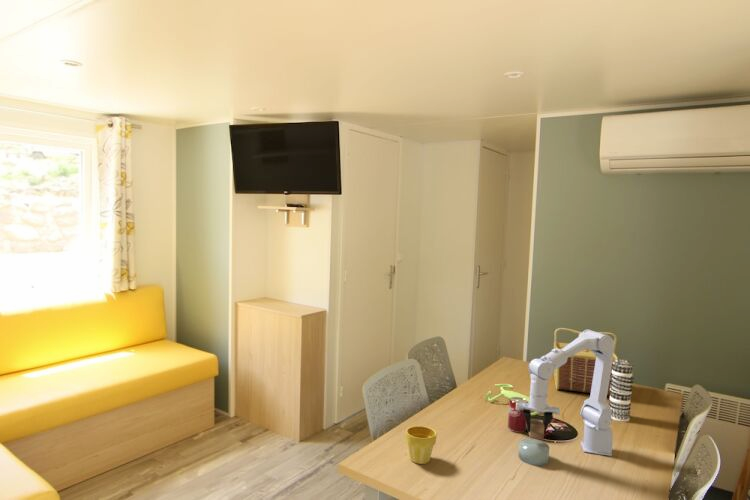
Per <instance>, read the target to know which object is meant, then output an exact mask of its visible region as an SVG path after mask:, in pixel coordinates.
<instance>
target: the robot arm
mask: <svg viewBox="0 0 750 500" xmlns="http://www.w3.org/2000/svg"><path fill="white" fill-rule="evenodd" d="M580 332H581V333H580V334H578V337H576V338H575V339H574V340H572V341H571V342H569V343H570V344H568V345H567V346H565V347H564V348H563V349H561V350H560V349H554V348H552V349H551V351H549V352H548V353H547V354H545V355H542V356H540V358H534V359H532V360H531V361H530V362H529V365H528V366H527V370H528V372H529V373H530V374H529V376H530V387H529V388H530V389H529V397H530V402H529V403H516V410H523V414H524V416H525V419H526V423H527V430H526V431H527V433H528V432H530V420H531V419H532V415H531V413H532V412H538V413H542V414H543V418H542V420H543V423H544V435H545V434H546V432H547V429H548V426H549V424H550V423H551V421H552V420H553V419H554V415H556V416H557V415H558V416H560V415H561V409H560V407H556V406H554V405H553V406H552V405H547V404H548V391H549V390H548V389H549V379H550V378H551V377H552V376H553V375H554V374H553V373H554V371H555V369H557V368H559V367H560V366H562V365H563V364H565V363H566V362H567V358H568V357H570V356H572V355H574V354H576V353H578V352H580V351H582V350H584V349H589V350H591V351H592V352H593V353H594V354H595V356H596V362H595V368H594V374H593V381H592V387H591V393H589V394H590V395H589V398H587V399H584V400H583V401H584V402H583V405H582V407H581V409H580V417H581V419H583V423H584V425H583V426H584V429H583V440H581V441H580V445H581V448H582V451H583V452H584V453H589V454H595V455H602V456H608V457H612V456H613V453H612V452H613V443H614V442H613V441H614V436H613V435H614V433H613V429H612V427H611V425H612V421H613V419H612V417H611V408H610V407H609V403H608V402H607V399H608V398H607V397H608V395H607V392H608V386H609V380H610V373H611V367H612V361H613V347H614V338H612V337H611V335H608V334H601V333H598V332H599V331H594V330H592V329H585V330H583V331H580Z"/></svg>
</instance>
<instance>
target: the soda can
mask: <svg viewBox="0 0 750 500" xmlns="http://www.w3.org/2000/svg"><path fill="white" fill-rule="evenodd" d="M508 401H509V402H508V413H507V415H508V418H507V428H508V430H510V431H512V432H514V433H519V434H521V433H525V432H526V431H527V430H526V429H527V423H526V419H525V416H524V414H523V410H516V403H528V401H527V400H526V399H524V398H521V397H512V398H510V399H509V400H508ZM524 431H525V432H524Z"/></svg>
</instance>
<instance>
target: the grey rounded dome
mask: <svg viewBox="0 0 750 500" xmlns="http://www.w3.org/2000/svg"><path fill="white" fill-rule="evenodd" d="M518 444H519V446H518V458H519V460H520V461H522V462H523V463H525V464H527V465H530V466H536V467H544V466H546V465H548V464H549V462H550V461H549V460H550V446H549V444H548V443H546V442H545V441H542V440H541V439H535V438H523V439H520V441H519V443H518Z"/></svg>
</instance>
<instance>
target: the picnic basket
mask: <svg viewBox="0 0 750 500" xmlns="http://www.w3.org/2000/svg"><path fill="white" fill-rule="evenodd" d="M559 331H569V332H571V333H573V334H575V335H579V334H580V333H581V332H582V331H579V330H575V329H571V328H565V327H558V328H557V329H555V331H554V332H553V333H554V341H553V349H560V350H561V349H563V348H564V347H565V346H567V345H568V344H570V343H571V342H559V341H558V332H559ZM597 332H598V333H601V334H604V335H609V336H612V337H613V341H614V347H613V361H612V362H614V361H615V360H617V359H619V358H618V356H617V354H616V348H617V342H618V336H617V335H616V334H615V333H613V332H606V331H605V332H604V331H597ZM595 362H596V356H595V354H594V353H593V352H592V351H591V350H589V349H584V350H582V351H580V352H578V353H576V354H574V355H572V356H570V357H568V358H567V362H566V363H565V364H563V365H562V366H560V367H559V368H557V369H555V371H554V372H553V373H554V374H553V375H554V383H555V388H556V390H557V391H559V390H565V391H570V392H571V391H572V392H580V393H585V394H586V393H587V394H591V387H592V381H593V374H594V368H595ZM612 369H613V363H612V367H611V372H612ZM610 377H611V376H610ZM610 381H611V380H609V386H608V392H607V397H610V395H611V390H610Z"/></svg>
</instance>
